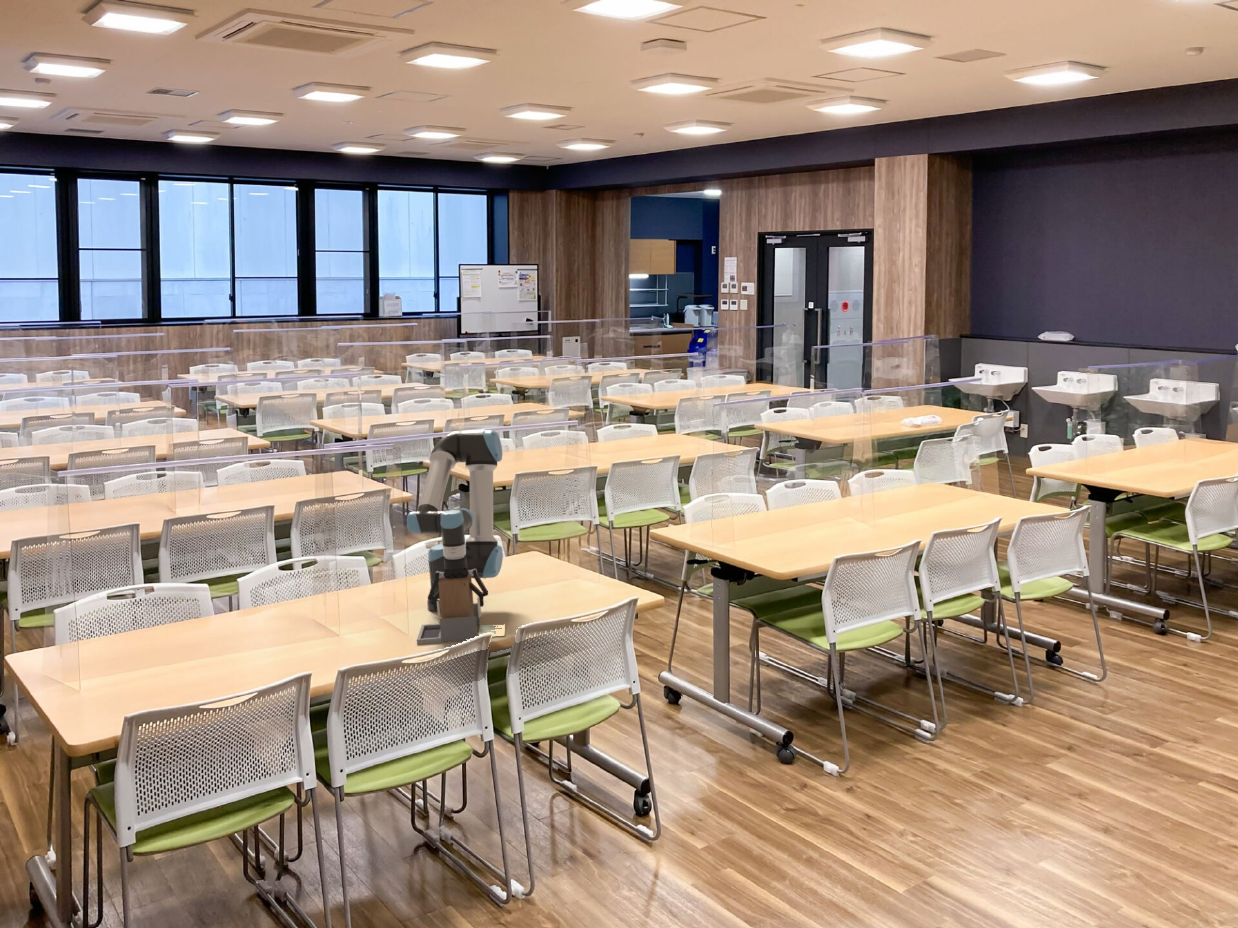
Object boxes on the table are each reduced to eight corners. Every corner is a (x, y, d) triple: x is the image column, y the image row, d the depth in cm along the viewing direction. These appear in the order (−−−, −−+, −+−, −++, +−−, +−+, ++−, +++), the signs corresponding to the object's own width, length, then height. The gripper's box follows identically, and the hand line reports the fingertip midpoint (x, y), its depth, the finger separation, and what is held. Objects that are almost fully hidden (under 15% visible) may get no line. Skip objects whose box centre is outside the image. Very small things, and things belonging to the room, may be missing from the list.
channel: (445, 627, 405) (443, 605, 403) (480, 624, 405) (478, 602, 404) (441, 642, 389) (439, 619, 388) (477, 639, 390) (475, 616, 388)
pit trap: (422, 628, 404) (421, 624, 404) (445, 627, 405) (445, 623, 404) (417, 644, 389) (416, 639, 388) (441, 642, 389) (441, 638, 389)
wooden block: (472, 636, 393) (467, 579, 389) (442, 638, 393) (437, 581, 389) (475, 627, 403) (471, 571, 399) (446, 628, 403) (442, 573, 399)
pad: (479, 626, 404) (479, 625, 404) (505, 624, 404) (505, 623, 404) (477, 638, 391) (477, 637, 391) (504, 636, 392) (504, 635, 391)
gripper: (416, 561, 388) (421, 623, 392) (491, 556, 389) (496, 617, 393) (418, 556, 395) (423, 616, 399) (492, 551, 397) (497, 611, 400)
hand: (459, 617), depth 396 cm, fingers open, 13 cm apart
